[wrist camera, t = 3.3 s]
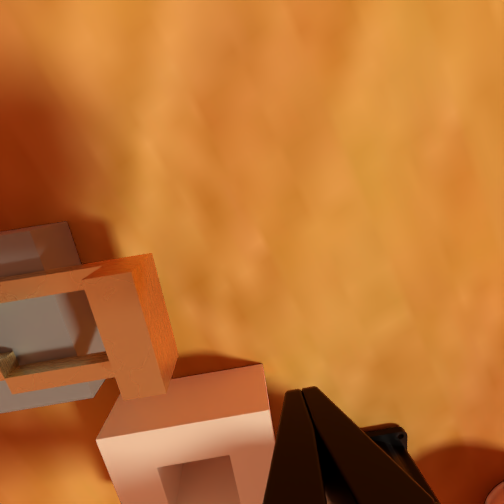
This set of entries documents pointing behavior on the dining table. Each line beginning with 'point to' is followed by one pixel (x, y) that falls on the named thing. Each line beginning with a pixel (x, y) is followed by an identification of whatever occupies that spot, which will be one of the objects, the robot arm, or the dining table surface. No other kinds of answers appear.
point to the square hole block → (193, 441)
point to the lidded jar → (496, 495)
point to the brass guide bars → (102, 328)
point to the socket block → (45, 315)
